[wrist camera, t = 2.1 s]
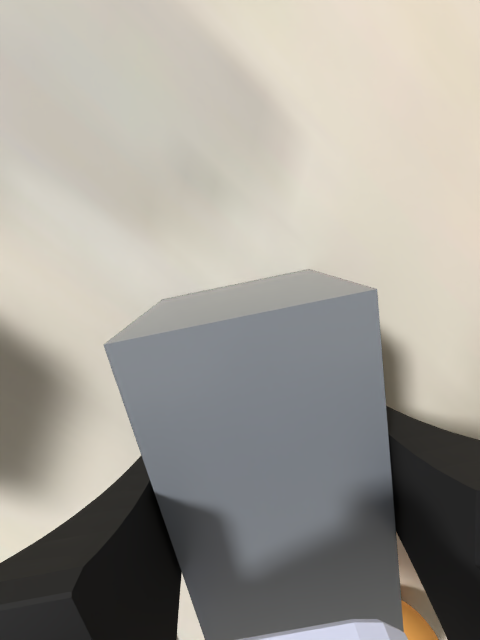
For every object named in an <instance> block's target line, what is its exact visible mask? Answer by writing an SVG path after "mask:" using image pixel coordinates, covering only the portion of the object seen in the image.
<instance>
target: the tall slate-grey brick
mask: <svg viewBox="0 0 480 640" xmlns="http://www.w3.org/2000/svg"><path fill="white" fill-rule="evenodd" d="M104 348H105V351H106V354H107V357H108V359H109V362H110V365H111V368H112V371H113V374H114V377H115V380H116V383H117V386H118V388H119V391H120V394H121V397H122V400H123V403H124V406H125V409H126V412H127V415H128V417H129V420H130V423H131V426H132V429H133V432H134V435H135V438H136V441H137V444H138V446H139V449H140V452H141V455H142V458H143V461H144V464H145V467H146V470H147V473H148V475H149V478H150V481H151V484H152V487H153V490H154V493H155V496H156V499H157V502H158V504H159V507H160V510H161V513H162V516H163V519H164V522H165V525H166V528H167V530H168V533H169V536H170V539H171V542H172V545H173V548H174V551H175V554H176V557H177V559H178V562H179V565H180V568H181V571H182V574H183V577H184V580H185V583H186V586H187V588H188V591H189V594H190V597H191V600H192V603H193V606H194V609H195V612H196V615H197V617H198V620H199V623H200V626H201V629H202V632H203V635H204V638H205V640H237V639H243V638H249V637H254V636H260V635H265V634H271V633H277V632H282V631H288V630H294V629H299V628H305V627H310V626H316V625H322V624H327V623H333V622H339V621H344V620H350V619H378V620H380V621H382V622H385V623H387V624H389V625H391V626H393V627H395V628H397V629H399V630H401V631H402V632H404V629H403V616H402V604H401V591H400V578H399V565H398V552H397V539H396V527H395V514H394V501H393V488H392V475H391V463H390V450H389V437H388V424H387V411H386V399H385V386H384V373H383V360H382V347H381V334H380V322H379V309H378V296H377V289H375V288H371V287H368V286H365V285H361V284H358V283H354V282H351V281H348V280H344V279H341V278H337V277H334V276H330V275H327V274H324V273H320V272H317V271H313V270H310V269H308V270H303V271H298V272H294V273H289V274H284V275H279V276H274V277H269V278H264V279H260V280H255V281H250V282H245V283H240V284H235V285H230V286H226V287H221V288H216V289H211V290H206V291H201V292H196V293H192V294H187V295H182V296H177V297H172V298H167V299H162V300H161V301H160V302H158V303H157V304H156V305H154V306H153V307H152V308H151V309H149V310H148V311H147V312H145V313H144V314H143V315H141V316H140V317H139V318H138V319H136V320H135V321H134V322H132V323H131V324H130V325H128V326H127V327H126V328H125V329H123V330H122V331H121V332H119V333H118V334H117V335H115V336H114V337H113V338H111V339H110V340H109V341H108V342H106V343H105V344H104Z"/></svg>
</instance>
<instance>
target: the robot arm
mask: <svg viewBox="0 0 480 640" xmlns="http://www.w3.org/2000/svg"><path fill="white" fill-rule="evenodd" d="M386 411H387V424H388V437H389V450H390V463H391V475H392V488H393V501H394V514H395V527H396V532H397V534H398V536H399V538H400V540H401V542H402V544H403V546H404V548H405V550H406V552H407V554H408V556H409V558H410V560H411V562H412V564H413V566H414V568H415V570H416V572H417V574H418V577H419V579H420V581H421V583H422V585H423V587H424V589H425V591H426V593H427V596H428V598H429V600H430V602H431V604H432V606H433V608H434V610H435V613H436V615H437V617H438V619H439V621H440V623H441V625H442V628H443V630H444V632H445V634H446V636H447V639H448V640H480V440H477V439H473V438H470V437H466V436H463V435H459V434H456V433H452V432H449V431H446V430H443V429H440V428H437V427H435V426H432V425H429V424H426V423H424V422H421V421H419V420H416V419H414V418H411V417H409V416H407V415H404V414H402V413H400V412H398V411H396V410H393V409H391V408H389V407H387V406H386ZM181 573H182V571H181V568H180V565H179V562H178V559H177V557H176V554H175V551H174V548H173V545H172V542H171V539H170V536H169V533H168V530H167V528H166V525H165V522H164V519H163V516H162V513H161V510H160V507H159V504H158V502H157V499H156V496H155V493H154V490H153V487H152V484H151V481H150V478H149V475H148V473H147V470H146V467H145V464H144V461H143V458H142V455H141V457H140V458H139V459H138V460H137V461H136V462H135V463H134V464H133V465H132V466H131V467H130V468H129V469H128V470H127V471H126V472H125V473H124V474H123V475H122V476H121V477H120V478H119V479H118V480H117V481H116V482H115V483H114V484H112V485H111V486H110V487H109V488H108V489H107V490H106V491H104V492H103V493H102V494H101V495H100V496H99V497H97V498H96V499H95V500H94V501H92V502H91V503H90V504H88V505H87V506H86V507H85V508H83V509H82V510H81V511H79V512H78V513H77V514H76V515H74V516H73V517H72V518H70V519H69V520H67V521H66V522H65V523H63V524H62V525H60V526H59V527H58V528H56V529H55V530H53V531H52V532H50V533H49V534H47V535H46V536H44V537H43V538H41V539H40V540H38V541H36V542H35V543H33V544H32V545H30V546H28V547H27V548H25V549H23V550H22V551H20V552H18V553H17V554H15V555H13V556H12V557H10V558H8V559H7V560H5V561H3V562H2V563H0V640H176V639H177V623H178V610H179V596H180V584H181ZM237 640H408V638H407V636H406V634H405V633H404V632H402V631H401V630H399V629H397V628H395V627H393V626H391V625H389V624H387V623H385V622H382V621H380V620H378V619H350V620H344V621H339V622H333V623H327V624H322V625H316V626H310V627H305V628H299V629H294V630H288V631H282V632H277V633H271V634H265V635H260V636H254V637H249V638H243V639H237Z"/></svg>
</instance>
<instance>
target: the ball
mask: <svg viewBox="0 0 480 640" xmlns="http://www.w3.org/2000/svg"><path fill="white" fill-rule="evenodd" d="M401 604H402V616H403V629H404V633H405V634H406V636H407V638H408V640H439V639H438V638H437V636H436V634H435V633H434V631H433V630H432V628H431V627H430V626H429V624H428V623H427V622H426V621H425V620H424V618H423V617H422V616H421V615H420V614H419V613H418V612H417V611H416V610H415V609H413V608H412V607H411V606H410V605H408V604H407V603H406V602H404V601H402V600H401Z"/></svg>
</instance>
